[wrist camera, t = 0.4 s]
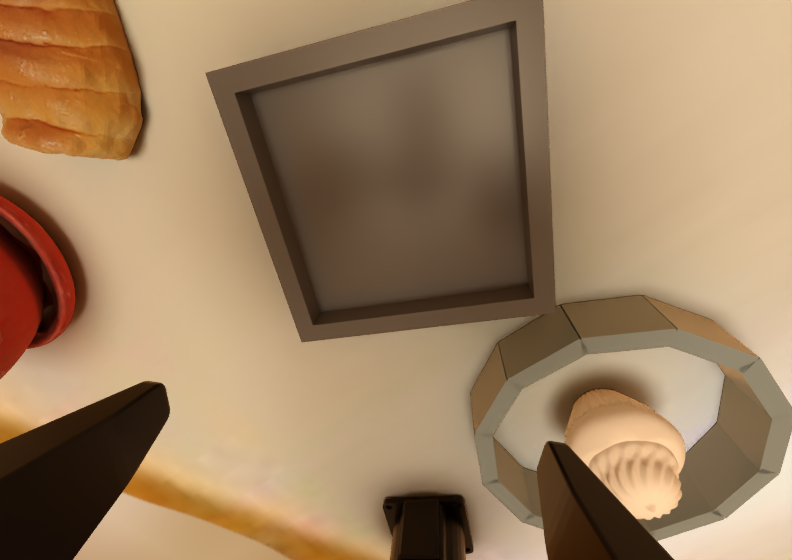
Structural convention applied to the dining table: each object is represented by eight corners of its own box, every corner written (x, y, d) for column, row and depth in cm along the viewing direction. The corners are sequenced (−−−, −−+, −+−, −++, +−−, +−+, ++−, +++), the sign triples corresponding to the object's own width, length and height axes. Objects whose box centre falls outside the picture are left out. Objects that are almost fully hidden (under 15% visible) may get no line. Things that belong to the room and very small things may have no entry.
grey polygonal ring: (721, 488, 26) (760, 540, 23) (486, 495, 29) (492, 542, 26) (763, 280, 20) (824, 313, 16) (458, 316, 23) (460, 350, 19)
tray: (543, 291, 21) (555, 312, 19) (315, 320, 24) (301, 342, 22) (528, -1, 16) (542, -20, 14) (234, 77, 18) (205, 73, 16)
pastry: (-5, -72, 17) (-115, -117, 14) (136, -47, 17) (60, -86, 14) (43, 141, 21) (-33, 148, 18) (158, 163, 21) (103, 174, 18)
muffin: (641, 358, 22) (720, 455, 16) (658, 431, 25) (733, 542, 18) (537, 384, 24) (571, 482, 18) (561, 450, 26) (599, 559, 20)
